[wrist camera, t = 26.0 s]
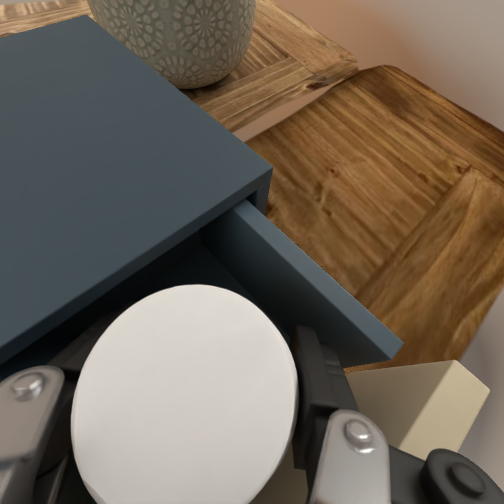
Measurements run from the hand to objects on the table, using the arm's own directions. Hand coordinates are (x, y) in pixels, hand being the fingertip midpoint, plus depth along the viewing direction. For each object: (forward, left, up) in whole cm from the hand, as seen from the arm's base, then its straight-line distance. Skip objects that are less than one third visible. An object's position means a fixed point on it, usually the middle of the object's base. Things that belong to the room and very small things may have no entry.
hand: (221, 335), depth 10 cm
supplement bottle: (-1, +1, -5) cm, 5 cm away
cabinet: (+11, +1, -8) cm, 13 cm away
